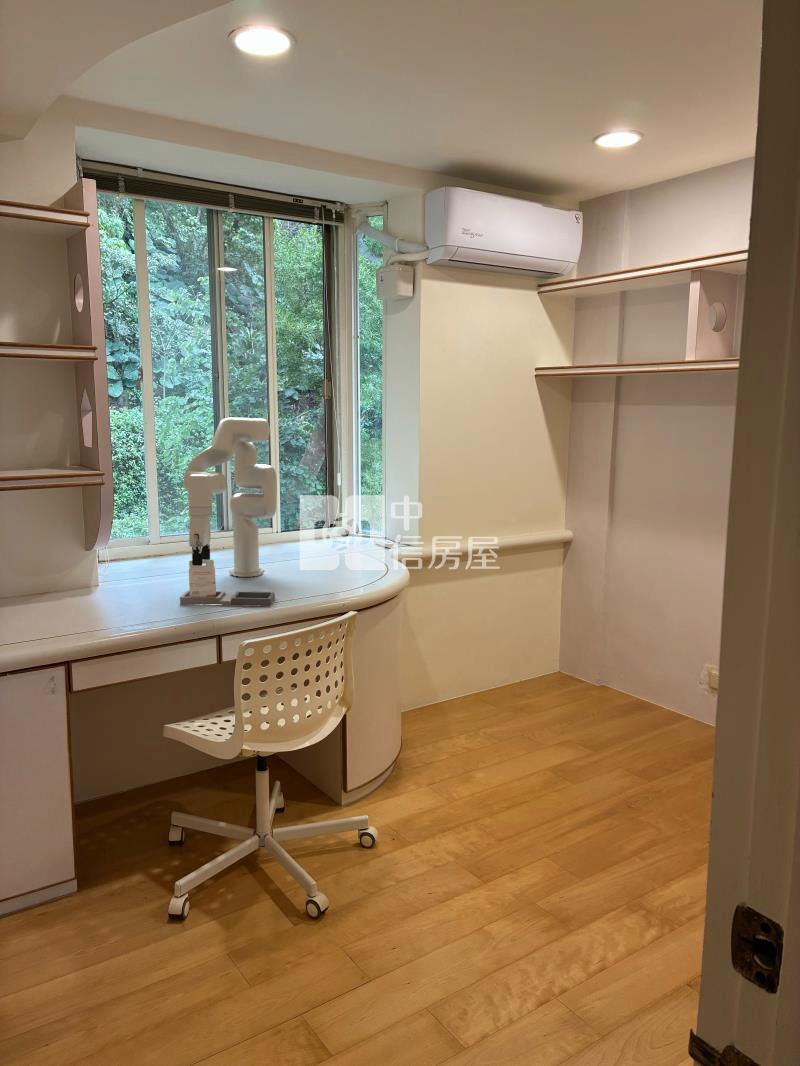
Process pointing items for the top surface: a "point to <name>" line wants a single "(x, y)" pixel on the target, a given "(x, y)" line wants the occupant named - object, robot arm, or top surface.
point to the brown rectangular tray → (201, 598)
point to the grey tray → (248, 598)
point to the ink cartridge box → (202, 579)
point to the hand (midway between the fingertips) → (201, 562)
